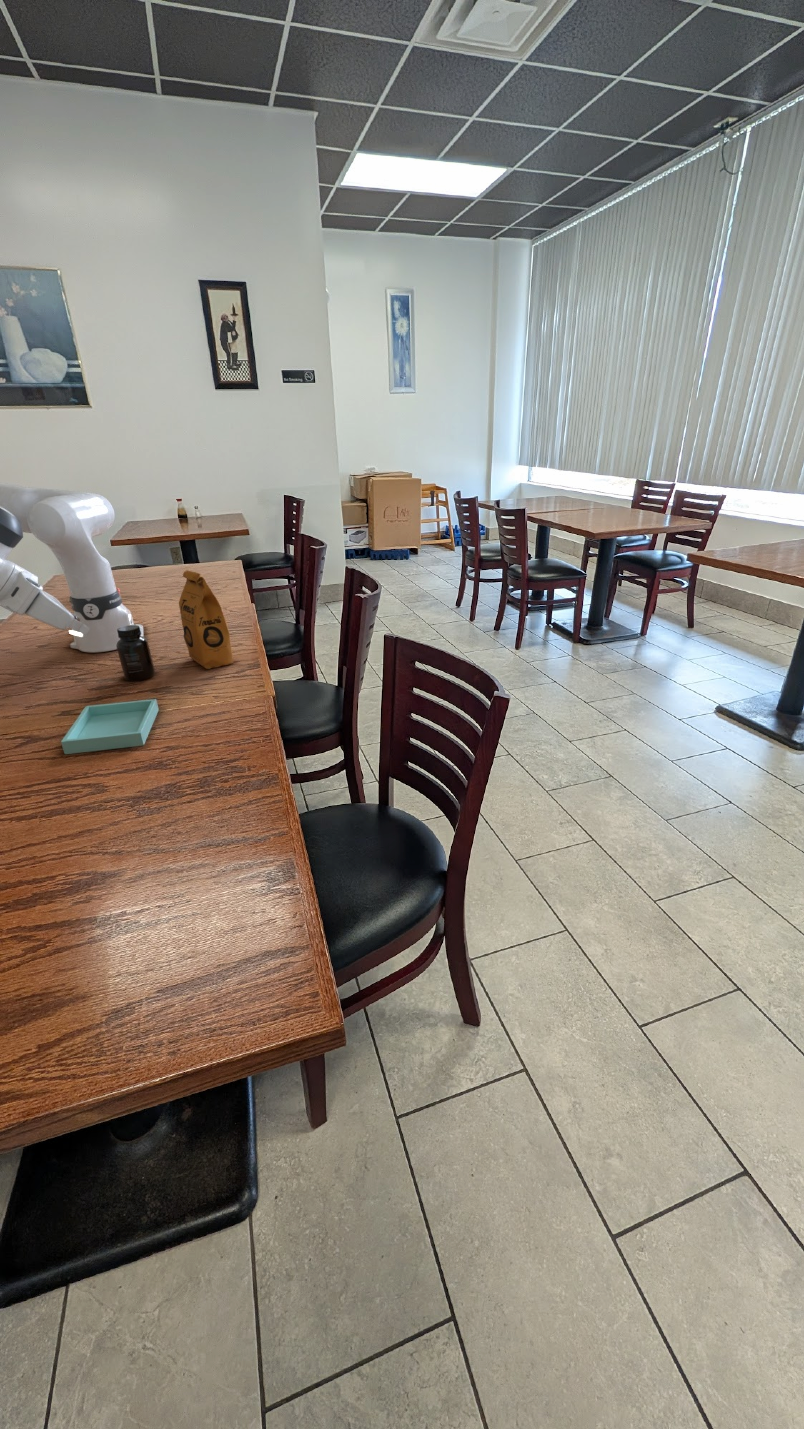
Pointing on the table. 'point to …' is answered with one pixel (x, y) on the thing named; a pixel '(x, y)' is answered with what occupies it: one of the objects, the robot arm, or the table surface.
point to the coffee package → (204, 623)
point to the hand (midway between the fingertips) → (82, 626)
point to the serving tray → (111, 726)
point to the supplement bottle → (134, 654)
